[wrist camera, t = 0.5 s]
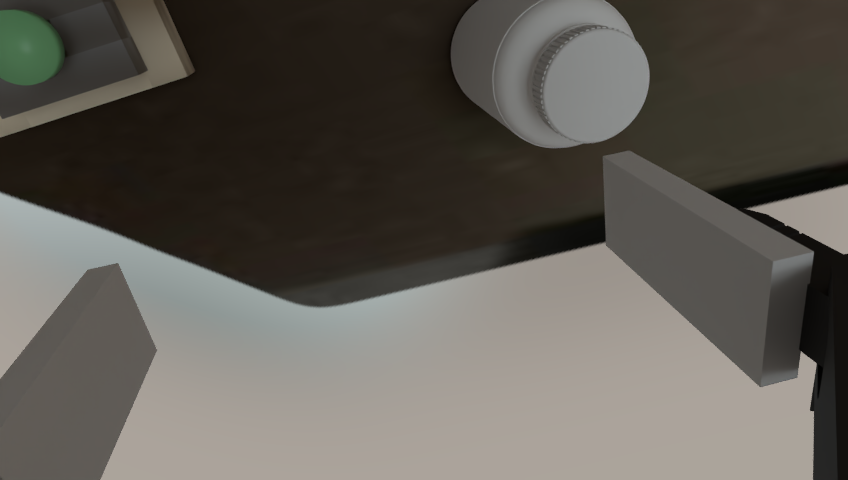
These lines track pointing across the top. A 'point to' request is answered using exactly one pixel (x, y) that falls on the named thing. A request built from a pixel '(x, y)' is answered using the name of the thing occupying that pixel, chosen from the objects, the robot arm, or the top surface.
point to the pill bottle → (551, 68)
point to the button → (28, 48)
